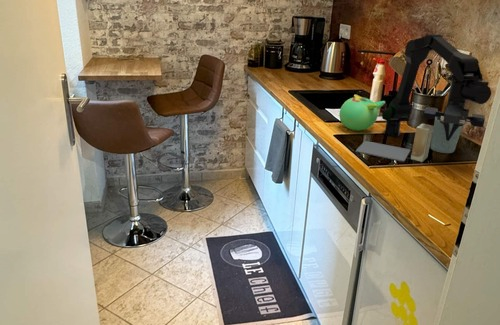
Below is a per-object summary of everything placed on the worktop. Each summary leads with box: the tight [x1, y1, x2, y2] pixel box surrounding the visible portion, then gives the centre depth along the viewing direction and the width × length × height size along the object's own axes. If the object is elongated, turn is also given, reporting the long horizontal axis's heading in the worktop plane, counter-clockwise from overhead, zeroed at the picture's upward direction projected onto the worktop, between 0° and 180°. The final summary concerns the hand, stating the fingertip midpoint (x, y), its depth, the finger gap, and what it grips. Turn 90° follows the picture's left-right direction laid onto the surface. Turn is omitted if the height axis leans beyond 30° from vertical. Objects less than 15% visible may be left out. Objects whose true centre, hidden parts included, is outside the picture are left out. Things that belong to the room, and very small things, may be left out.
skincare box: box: [410, 123, 434, 163], centre depth 145 cm, size 6×4×12 cm
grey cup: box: [430, 117, 464, 154], centre depth 154 cm, size 10×10×12 cm
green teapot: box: [338, 94, 386, 132], centre depth 174 cm, size 18×17×15 cm
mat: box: [355, 140, 412, 162], centre depth 153 cm, size 13×18×1 cm
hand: (447, 140), depth 141 cm, fingers closed
